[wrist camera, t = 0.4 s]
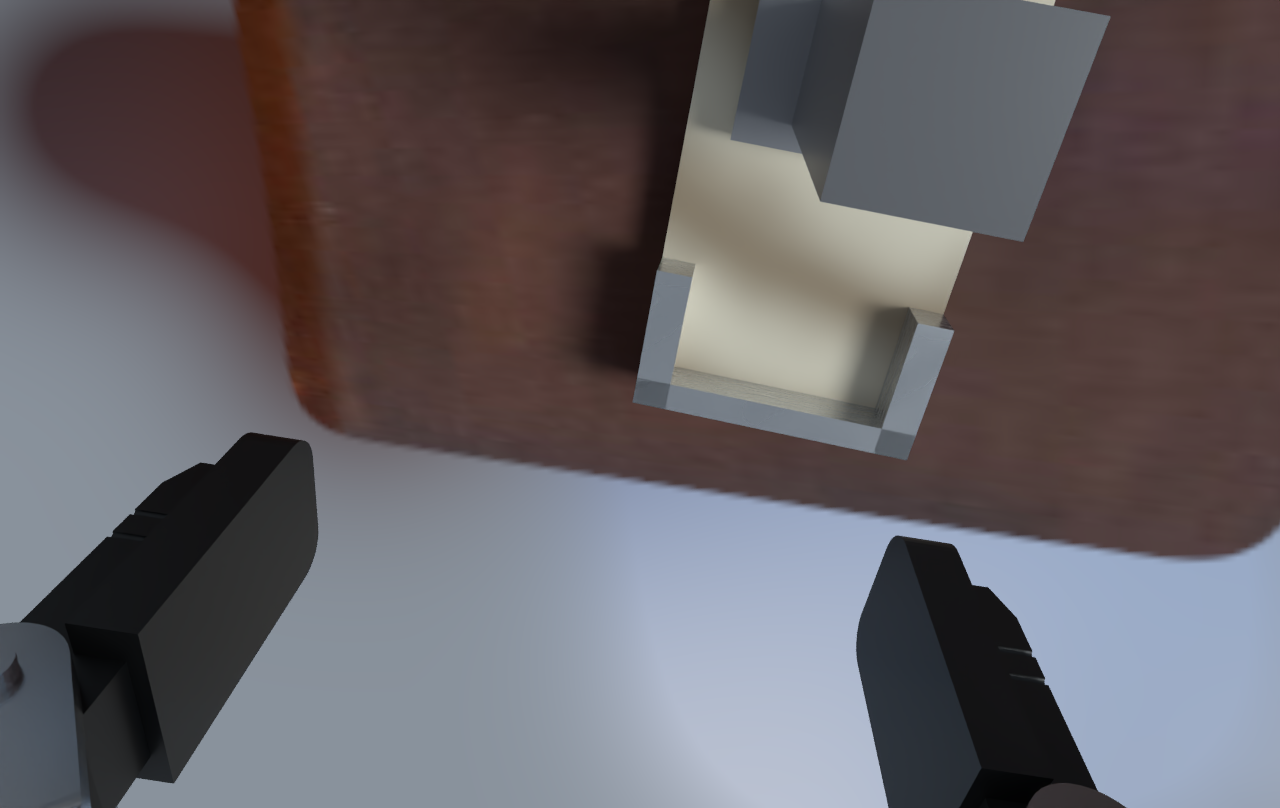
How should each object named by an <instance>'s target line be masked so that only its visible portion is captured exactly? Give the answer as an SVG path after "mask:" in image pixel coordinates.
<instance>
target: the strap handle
mask: <svg viewBox="0 0 1280 808" xmlns="http://www.w3.org/2000/svg"><path fill="white" fill-rule="evenodd" d="M1110 17H1111V16H1105V15H1100V14H1095V13H1089V12H1084V11H1078V10H1073V9H1068V8H1062V7H1057V6H1051V5H1046V4H1040V3H1035V2H1030V1H1024V0H760V1H759V6H758V11H757V16H756V20H755V25H754V30H753V35H752V39H751V44H750V49H749V54H748V58H747V63H746V68H745V73H744V77H743V82H742V87H741V92H740V96H739V101H738V106H737V111H736V115H735V120H734V125H733V130H732V134H731V139H730V140H733V141H738V142H743V143H749V144H754V145H759V146H764V147H769V148H774V149H779V150H784V151H790V152H795V153H800V154H802V155H803V157H804V160H805V163H806V165H807V168H808V171H809V173H810V176H811V179H812V181H813V184H814V187H815V189H816V192H817V195H818V197H819V200H820V202H825V203H830V204H835V205H840V206H845V207H850V208H855V209H860V210H865V211H870V212H875V213H880V214H885V215H890V216H895V217H900V218H905V219H911V220H916V221H921V222H926V223H931V224H936V225H941V226H946V227H951V228H956V229H961V230H966V231H971V232H976V233H981V234H986V235H991V236H996V237H1002V238H1007V239H1012V240H1017V241H1022V242H1023V241H1024V239H1025V236H1026V233H1027V231H1028V228H1029V226H1030V223H1031V221H1032V218H1033V215H1034V213H1035V210H1036V208H1037V205H1038V202H1039V200H1040V197H1041V195H1042V192H1043V190H1044V187H1045V184H1046V182H1047V179H1048V177H1049V174H1050V171H1051V169H1052V166H1053V164H1054V161H1055V159H1056V156H1057V153H1058V151H1059V148H1060V146H1061V143H1062V140H1063V138H1064V135H1065V133H1066V130H1067V128H1068V125H1069V122H1070V120H1071V117H1072V115H1073V112H1074V109H1075V107H1076V104H1077V102H1078V99H1079V97H1080V94H1081V91H1082V89H1083V86H1084V84H1085V81H1086V78H1087V76H1088V73H1089V71H1090V68H1091V66H1092V63H1093V60H1094V58H1095V55H1096V53H1097V50H1098V48H1099V45H1100V42H1101V40H1102V37H1103V35H1104V32H1105V29H1106V27H1107V24H1108V22H1109V19H1110Z"/></svg>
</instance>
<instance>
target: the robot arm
mask: <svg viewBox="0 0 1280 808" xmlns="http://www.w3.org/2000/svg"><path fill="white" fill-rule="evenodd" d="M317 540H318V520H317V508H316V495H315V481H314V467H313V456H312V450H311V447H310V445H309V444H308V443H307V442H306V441H302V440H296V439H290V438H283V437H276V436H271V435H264V434H258V433H247V434H245V435H243V436H242V437H241V438H240V439H239V440H238V441H237V442H236V443H235V444H234V445H233V446H232V447H231V449H229V451H228V452H227V453H226V454H225V455H224V456H223V457H222V458H221V459H220V460H219V461H218V462H217V463H216V464H215V465H213V464H207V463H199V464H197V465H195V466H193V467H191V468H189V469H188V470H185V471H184V472H182V473H180V474H178V475H176V476H174V477H172V478H170V479H168V480H166V481H164V482H163V483H161V484H160V485H159V486H158V487H157V488H156V489H155V490H154V491H153V492H152V493H151V494H150V495H149V496H148V497H147V498H146V499H145V500H144V501H143V502H142V503H141V504H140V505H139V506H138V507H137V508H136V509H135V513H134V515H131V514H130V515H129V516H128V517H127V518H126V519H125V520H124V521H123V522H122V523H121V524H120V525H119V526H118V527H116V528H115V529H114V530H113V535H112V537H106V538H105V539H104V540H103V541H102V542H101V543H100V544H99V545H98V546H97V547H96V548H95V549H94V550H93V551H92V552H91V553H90V554H89V555H88V556H87V557H86V558H85V559H84V560H83V561H82V562H81V563H80V564H79V565H78V566H77V567H76V568H75V569H74V570H73V571H72V572H71V573H70V574H69V575H68V576H67V577H66V578H65V579H64V580H63V581H61V582H60V583H59V584H58V585H57V586H56V587H55V588H54V589H53V590H52V591H51V593H49V594H48V595H47V596H46V597H45V598H44V599H43V600H42V601H41V602H40V603H39V604H38V605H37V606H36V607H35V608H34V609H33V610H32V611H31V612H30V613H29V614H28V615H27V616H26V617H25V618H24V619H23V620H22V621H21V622H19V623H6V624H0V808H118V807H117V805H118V804H119V802H120V801H121V799H122V798H123V796H124V795H125V793H126V792H127V790H128V789H129V787H130V786H131V785H132V783H133V781H134V780H135V779H136V778H142V779H148V780H154V781H161V782H167V783H174V782H175V781H176V779H177V778H178V776H179V775H180V773H181V771H182V770H183V768H184V767H185V765H186V764H187V762H188V761H189V759H190V757H191V755H192V754H193V753H194V751H195V749H196V748H197V746H198V744H199V743H200V742H201V740H202V738H203V737H204V735H205V734H206V732H207V731H208V729H209V728H210V726H211V724H212V723H213V721H214V719H215V718H216V717H217V715H218V713H219V712H220V710H221V709H222V707H223V706H224V704H225V702H226V701H227V699H228V698H229V696H230V695H231V693H232V691H233V690H234V688H235V687H236V685H237V684H238V682H239V680H240V679H241V677H242V676H243V674H244V673H245V671H246V669H247V668H248V666H249V665H250V663H251V661H252V660H253V658H254V657H255V655H256V654H257V652H258V651H259V649H260V647H261V646H262V644H263V643H264V641H265V640H266V638H267V636H268V635H269V633H270V632H271V630H272V629H273V627H274V625H275V624H276V622H277V621H278V619H279V618H280V616H281V614H282V613H283V611H284V610H285V608H286V607H287V605H288V603H289V602H290V600H291V599H292V597H293V596H294V594H295V592H296V591H297V589H298V588H299V586H300V585H301V583H302V581H303V580H304V578H305V577H306V575H307V573H308V571H309V569H310V567H311V564H312V562H313V559H314V556H315V552H316V547H317ZM856 652H857V662H858V667H859V672H860V677H861V681H862V685H863V691H864V695H865V699H866V704H867V709H868V713H869V718H870V723H871V728H872V732H873V737H874V742H875V746H876V750H877V756H878V760H879V765H880V769H881V774H882V779H883V783H884V788H885V793H886V797H887V802H888V807H889V808H1126V807H1125V806H1123V805H1122V804H1120V803H1119V802H1117V801H1115V800H1114V799H1112V798H1110V797H1109V796H1107V795H1105V794H1103V793H1101V792H1098V790H1097V788H1096V786H1095V784H1094V782H1093V780H1092V778H1091V776H1090V773H1089V771H1088V769H1087V767H1086V765H1085V763H1084V761H1083V759H1082V756H1081V754H1080V752H1079V750H1078V748H1077V746H1076V743H1075V741H1074V739H1073V737H1072V736H1071V733H1070V731H1069V728H1068V726H1067V724H1066V722H1065V720H1064V718H1063V716H1062V714H1061V711H1060V709H1059V707H1058V705H1057V703H1056V701H1055V699H1054V696H1053V695H1052V692H1051V690H1050V688H1049V686H1048V685H1045V683H1044V680H1045V677H1044V675H1043V673H1042V671H1041V669H1040V667H1039V665H1038V662H1037V660H1036V658H1034V657H1032V649H1031V647H1030V645H1029V643H1028V641H1027V639H1026V637H1025V635H1024V632H1023V630H1022V628H1021V626H1020V624H1019V622H1018V620H1017V618H1016V617H1015V616H1014V615H1013V613H1012V612H1011V611H1010V610H1009V609H1008V608H1007V607H1006V606H1005V605H1004V604H1003V603H1002V602H1001V601H1000V600H999V598H998V597H997V596H996V595H995V594H994V593H993V592H992V591H991V590H990V589H989V588H988V587H981V586H975V585H972V584H971V581H970V579H969V577H968V574H967V572H966V569H965V567H964V565H963V562H962V560H961V558H960V555H959V553H958V551H957V549H956V548H955V546H953V545H952V544H948V543H942V542H936V541H929V540H923V539H916V538H910V537H903V536H895V537H893V539H892V540H891V541H890V543H889V544H888V547H887V549H886V551H885V554H884V557H883V559H882V562H881V565H880V567H879V570H878V572H877V575H876V578H875V580H874V583H873V585H872V588H871V591H870V593H869V597H868V599H867V601H866V604H865V607H864V609H863V612H862V614H861V618H860V621H859V626H858V632H857V642H856Z"/></svg>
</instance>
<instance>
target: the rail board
mask: <svg viewBox="0 0 1280 808" xmlns="http://www.w3.org/2000/svg"><path fill="white" fill-rule="evenodd" d="M759 1H760V0H710V4H709V9H708V14H707V20H706V25H705V31H704V36H703V41H702V47H701V52H700V57H699V63H698V68H697V74H696V79H695V84H694V90H693V95H692V101H691V106H690V111H689V117H688V122H687V127H686V133H685V138H684V144H683V149H682V154H681V160H680V165H679V170H678V176H677V181H676V187H675V192H674V197H673V203H672V208H671V213H670V219H669V224H668V230H667V235H666V240H665V246H664V251H663V257H664V258H669V259H674V260H679V261H684V262H688V263H693V264H696V265H695V269H694V274H693V279H692V284H691V289H690V294H689V299H688V303H687V308H686V313H685V318H684V323H683V328H682V333H681V338H680V342H679V347H678V352H677V357H676V362H675V367H680V368H685V369H690V370H695V371H699V372H704V373H709V374H714V375H718V376H723V377H728V378H733V379H738V380H742V381H747V382H752V383H757V384H762V385H766V386H771V387H776V388H781V389H786V390H790V391H795V392H800V393H805V394H809V395H814V396H819V397H824V398H829V399H833V400H838V401H843V402H848V403H853V404H857V405H862V406H867V407H872V408H876V405H877V402H878V399H879V396H880V393H881V390H882V387H883V384H884V381H885V378H886V375H887V372H888V369H889V366H890V363H891V360H892V357H893V354H894V351H895V348H896V345H897V342H898V339H899V336H900V333H901V330H902V327H903V324H904V321H905V318H906V315H907V312H908V309H909V307H910V308H915V309H920V310H925V311H930V312H935V313H940V314H944V311H945V308H946V305H947V302H948V300H949V297H950V294H951V291H952V288H953V286H954V283H955V280H956V277H957V274H958V272H959V269H960V266H961V263H962V260H963V258H964V255H965V252H966V249H967V246H968V244H969V241H970V238H971V235H972V232H971V231H966V230H961V229H956V228H951V227H946V226H941V225H936V224H931V223H926V222H921V221H916V220H911V219H905V218H900V217H895V216H890V215H885V214H880V213H875V212H870V211H865V210H860V209H855V208H850V207H845V206H840V205H835V204H830V203H825V202H820V200H819V197H818V195H817V192H816V189H815V187H814V184H813V181H812V179H811V176H810V173H809V171H808V168H807V165H806V163H805V160H804V157H803V155H802V154H800V153H795V152H790V151H784V150H779V149H774V148H769V147H764V146H759V145H754V144H749V143H743V142H738V141H733V140H730V139H731V134H732V130H733V125H734V120H735V115H736V111H737V106H738V101H739V96H740V92H741V87H742V82H743V77H744V73H745V68H746V63H747V58H748V54H749V49H750V44H751V39H752V35H753V30H754V25H755V20H756V16H757V11H758V6H759ZM1024 1H1030V2H1035V3H1040V4H1046V5H1051V6H1053V5H1054V3H1055V0H1024Z"/></svg>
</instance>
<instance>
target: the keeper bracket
mask: <svg viewBox="0 0 1280 808" xmlns="http://www.w3.org/2000/svg"><path fill="white" fill-rule="evenodd" d="M695 265H696V264H693V263H688V262H684V261H679V260H674V259H669V258H664V257H662V259H661V262H660V264H659V267H658V269H657V273H656V279H655V284H654V290H653V295H652V300H651V306H650V311H649V317H648V322H647V328H646V333H645V338H644V344H643V349H642V355H641V360H640V366H639V371H638V376H637V382H636V387H635V393H634V398H633V402H634V403H638V404H643V405H648V406H653V407H657V408H662V409H667V410H672V411H676V412H681V413H686V414H691V415H695V416H700V417H705V418H709V419H714V420H719V421H724V422H728V423H733V424H738V425H743V426H747V427H752V428H757V429H762V430H766V431H771V432H776V433H780V434H785V435H790V436H795V437H799V438H804V439H809V440H814V441H818V442H823V443H828V444H833V445H837V446H842V447H847V448H851V449H856V450H861V451H866V452H870V453H875V454H880V455H885V456H889V457H894V458H899V459H904V460H907V458H908V455H909V453H910V450H911V447H912V444H913V442H914V439H915V436H916V434H917V431H918V428H919V425H920V423H921V420H922V417H923V414H924V412H925V409H926V406H927V404H928V401H929V398H930V395H931V393H932V390H933V387H934V384H935V382H936V379H937V376H938V374H939V371H940V368H941V365H942V363H943V360H944V357H945V354H946V352H947V349H948V346H949V344H950V341H951V338H952V335H953V333H954V330H953V328H952V327H951V325H950V324H949V322H948V321H947V319H946V317H945V316H944V314H940V313H935V312H930V311H925V310H920V309H915V308H910V307H909V309H908V312H907V315H906V318H905V321H904V324H903V327H902V330H901V333H900V336H899V339H898V342H897V345H896V348H895V351H894V354H893V357H892V360H891V363H890V366H889V369H888V372H887V375H886V378H885V381H884V384H883V387H882V390H881V393H880V396H879V399H878V402H877V405H876V408H872V407H867V406H862V405H857V404H853V403H848V402H843V401H838V400H833V399H829V398H824V397H819V396H814V395H809V394H805V393H800V392H795V391H790V390H786V389H781V388H776V387H771V386H766V385H762V384H757V383H752V382H747V381H742V380H738V379H733V378H728V377H723V376H718V375H714V374H709V373H704V372H699V371H695V370H690V369H685V368H680V367H675V362H676V357H677V352H678V347H679V342H680V338H681V333H682V328H683V323H684V318H685V313H686V308H687V303H688V299H689V294H690V289H691V284H692V279H693V274H694V269H695Z"/></svg>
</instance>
